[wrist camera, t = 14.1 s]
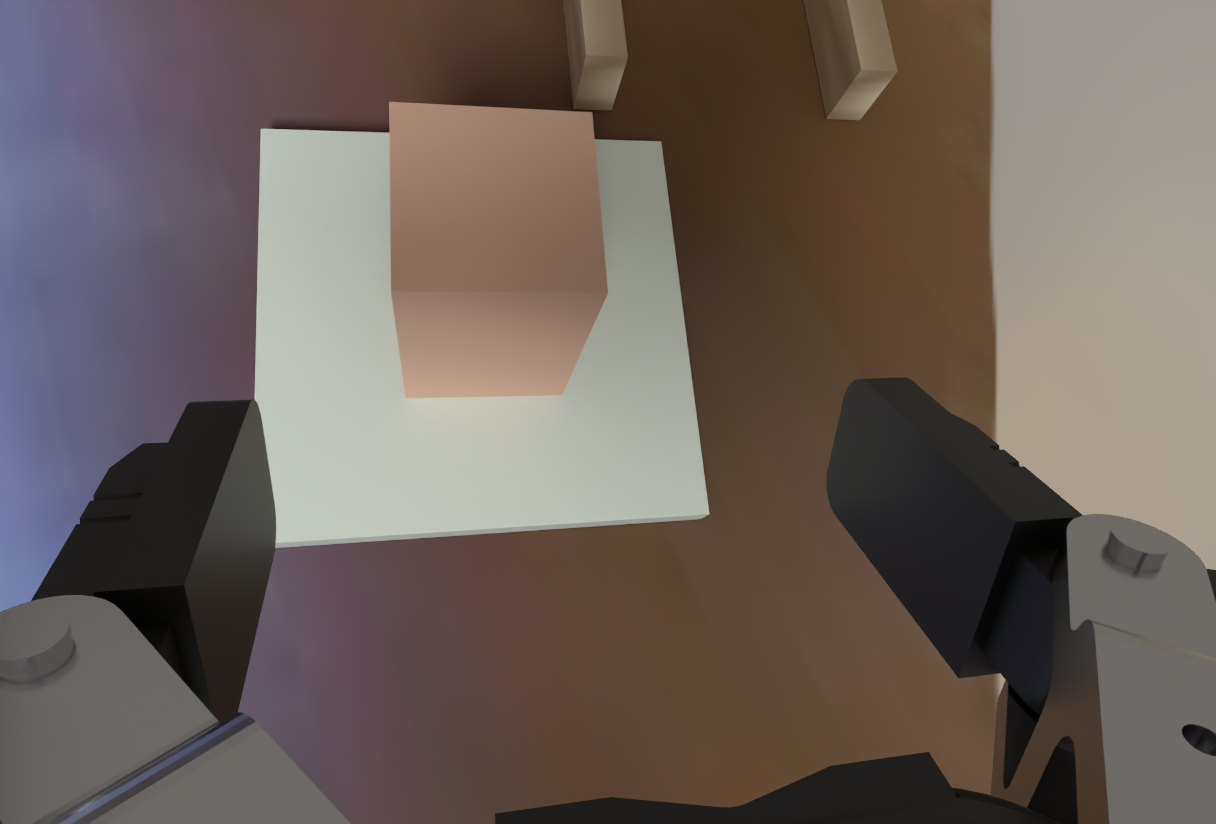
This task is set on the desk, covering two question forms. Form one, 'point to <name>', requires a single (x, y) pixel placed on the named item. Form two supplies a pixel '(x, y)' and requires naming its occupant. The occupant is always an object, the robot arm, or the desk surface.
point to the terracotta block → (493, 247)
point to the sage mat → (459, 426)
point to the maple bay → (839, 32)
